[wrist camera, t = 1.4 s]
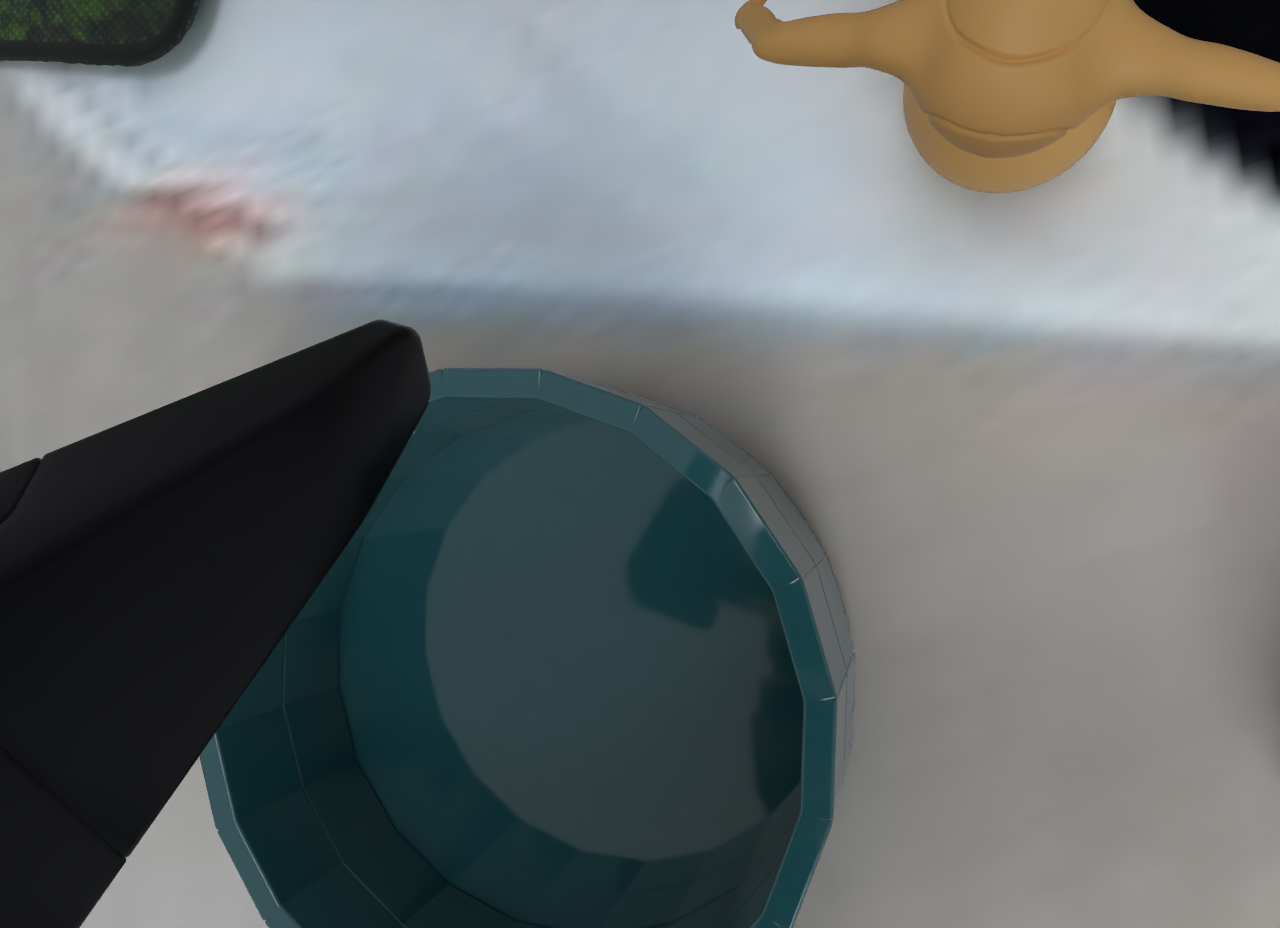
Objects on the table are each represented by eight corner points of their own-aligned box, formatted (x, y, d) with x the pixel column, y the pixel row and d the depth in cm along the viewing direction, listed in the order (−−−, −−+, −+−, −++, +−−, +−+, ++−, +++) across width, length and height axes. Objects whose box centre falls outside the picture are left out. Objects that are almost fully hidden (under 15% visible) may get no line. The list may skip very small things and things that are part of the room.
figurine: (1235, 49, 19) (1704, -582, 8) (1163, 339, 19) (1508, 157, 8) (831, 16, 21) (723, -504, 10) (774, 275, 22) (606, 63, 10)
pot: (980, 777, 20) (998, 872, 16) (503, 1038, 24) (396, 1182, 19) (642, 276, 23) (567, 225, 18) (249, 578, 26) (97, 602, 21)
